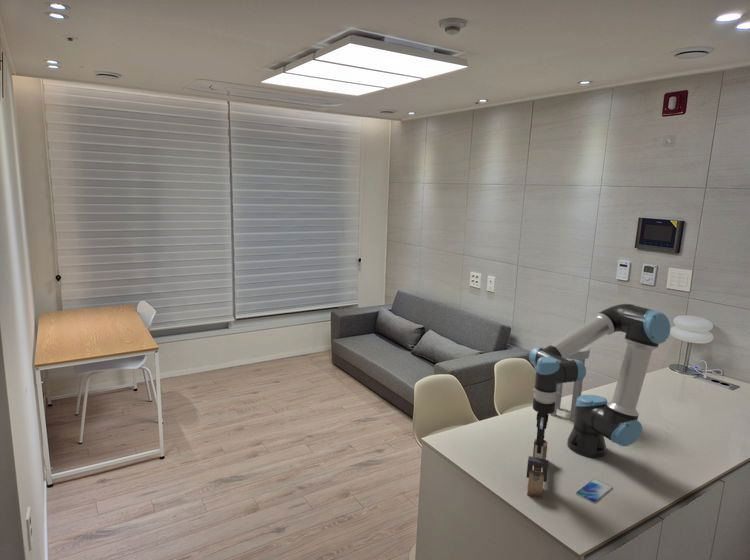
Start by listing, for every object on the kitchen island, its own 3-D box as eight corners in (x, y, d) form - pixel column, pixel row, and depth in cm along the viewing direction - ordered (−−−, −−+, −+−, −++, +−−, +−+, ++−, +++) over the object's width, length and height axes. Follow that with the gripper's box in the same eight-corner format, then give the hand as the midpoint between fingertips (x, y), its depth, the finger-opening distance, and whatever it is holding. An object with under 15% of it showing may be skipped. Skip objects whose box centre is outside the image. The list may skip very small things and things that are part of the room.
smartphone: (613, 487, 177) (594, 503, 167) (613, 489, 177) (594, 505, 167) (594, 477, 182) (575, 492, 172) (593, 479, 182) (574, 494, 172)
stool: (584, 412, 238) (592, 345, 232) (578, 424, 226) (586, 353, 219) (552, 404, 247) (558, 339, 240) (544, 415, 234) (551, 347, 227)
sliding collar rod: (545, 459, 194) (547, 441, 193) (541, 498, 169) (544, 477, 168) (533, 457, 196) (534, 438, 195) (527, 495, 171) (529, 473, 169)
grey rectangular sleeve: (546, 477, 176) (548, 460, 174) (546, 482, 173) (548, 464, 172) (527, 473, 178) (528, 456, 177) (526, 477, 176) (528, 460, 174)
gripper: (534, 391, 180) (529, 448, 184) (531, 404, 168) (525, 466, 172) (556, 395, 177) (549, 453, 181) (554, 409, 165) (547, 471, 169)
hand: (538, 459), depth 177 cm, fingers closed
